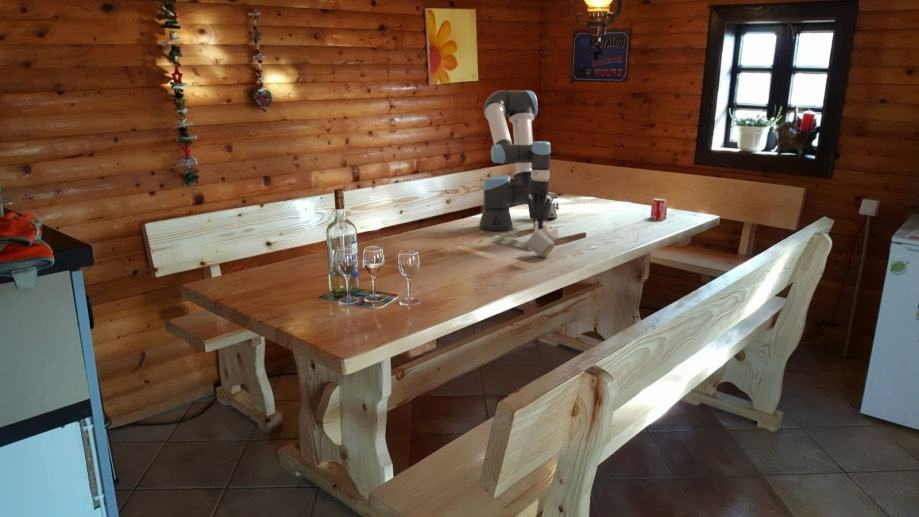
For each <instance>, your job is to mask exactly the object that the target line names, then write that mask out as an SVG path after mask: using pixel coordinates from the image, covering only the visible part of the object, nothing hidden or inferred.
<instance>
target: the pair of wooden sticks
mask: <svg viewBox="0 0 919 517" xmlns="http://www.w3.org/2000/svg"><path fill="white" fill-rule="evenodd" d="M544 226H545V225H543V227H544ZM534 233H535V228H534V227H531V228H526V229H522V230H516V231H512V232H507V233H500V234H496V235H493V242H494V243H497V244H503V245H507V246H512V247H517V248H521V249H525V250H528V251H533V250H532V249H530V248H529V247H528V246H527V242H528V241H524V240H519V239H517V238H521V237H525V236H528V235H533V234H534ZM586 238H587V232H585V231H584V232H580V233H574V234H571V235H570V234H569V235H565V236H561V237H560V236H559V238H556V239H551V240H552V242H553V243H554V247H555V246H559V245H563V244H568V243H572V242H575V241H578V240H582V239H586Z"/></svg>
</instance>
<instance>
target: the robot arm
mask: <svg viewBox="0 0 919 517" xmlns="http://www.w3.org/2000/svg"><path fill="white" fill-rule="evenodd" d="M538 107H539V105H538V99H537V95H536V93H535V92H534V91H532V90H527V89H523V90H518V89H517V90H515V89H514V90H509V89H508V90H507V89H506V90H505V89H502V90H501V89H500V90H497V91H495V92H493V93H492V94H490V96H488V97H487V99H486V101H485V103H484V105H483V113H484V117H485V118H486V120H487V121H488V126H489V130H490V134H491V138H492V141H493V144H492V146H491V149H490V155H491V159H490V160H492V162H493V163H496V164H497V163H498V164H514V163H515V172H514V174H513V176H512V178H511V176H510V175H508V174H504V175H503V174H502V175H492V176H489V177H486V178H485V179H484V182H483V189H482V190H483V210H482V214H481V217H480V220H479V223H478V224H479V226H478V227H479V228H478V229H481V230H483V231H492V232H493V231H494V232H503V231H509V230H512V229H513V227H514V223H513V221H512V217H511V213H510V206H513V205H514V206H515V205H525V206H527V207H528V213H529V218H530V219H531V220H533V228H535V233H536V232H537V231H539V230H541V229H542V228H543V226H544V222H545V221H544V220H547V221H548V219H549V218H548V214H549V210H550V206H551V203H552V204H553V202H554V199H553V198H550V197H549V194H548V192H549V189H550V181H549V179H550V169H551V168H550V167H551V166H550V165H551V152H552V150H551V143H550V141H545V140H544V141H540V140H538V141H534V137H533V124H532V122H533V121H534V120H535V117H537V115H538V111H539V108H538ZM506 117H508V120H509V122H510V123H511V124H512V130H513V131H512V134H513V142H512V138H511V134H510V132H509V127H508V124H507V123H508V122H507V120H506ZM545 201H546V202H545ZM544 205H545V206H544Z"/></svg>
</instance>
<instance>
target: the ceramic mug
mask: <svg viewBox="0 0 919 517" xmlns="http://www.w3.org/2000/svg"><path fill="white" fill-rule="evenodd" d="M526 242H527V246H528V247H529V248H530V249H532V250H531V251H533V252H534V253H535V254H536V255H538V257H541V258H545V257H547V256H548V255H549V254H550V253H552V251H553V249H554V247H555V246H554V243H553V242H552V240H551V239H549V238H548V237H547V236H546V235H545V234H544V233H543V232H542V231H540V230H539V231H537V232H536V233H532V234H531V236H530V238H529V239H528V240H527V241H526Z"/></svg>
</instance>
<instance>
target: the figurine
mask: <svg viewBox="0 0 919 517" xmlns="http://www.w3.org/2000/svg"><path fill="white" fill-rule="evenodd" d="M548 194H549V197H550V198H553V200H556V199H558V198H559V195H558V194H557V193H556V192H551V191H548ZM545 202H546V201H545ZM544 206H545V205H544ZM559 210H560V206H559V202H557V201H554V202H552V203H551V206H550V210H549V214H548V218H547V220H544V221H543V222H548V219H550V218H551V219H555V220H556V219H558V214H557V211H559Z"/></svg>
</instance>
